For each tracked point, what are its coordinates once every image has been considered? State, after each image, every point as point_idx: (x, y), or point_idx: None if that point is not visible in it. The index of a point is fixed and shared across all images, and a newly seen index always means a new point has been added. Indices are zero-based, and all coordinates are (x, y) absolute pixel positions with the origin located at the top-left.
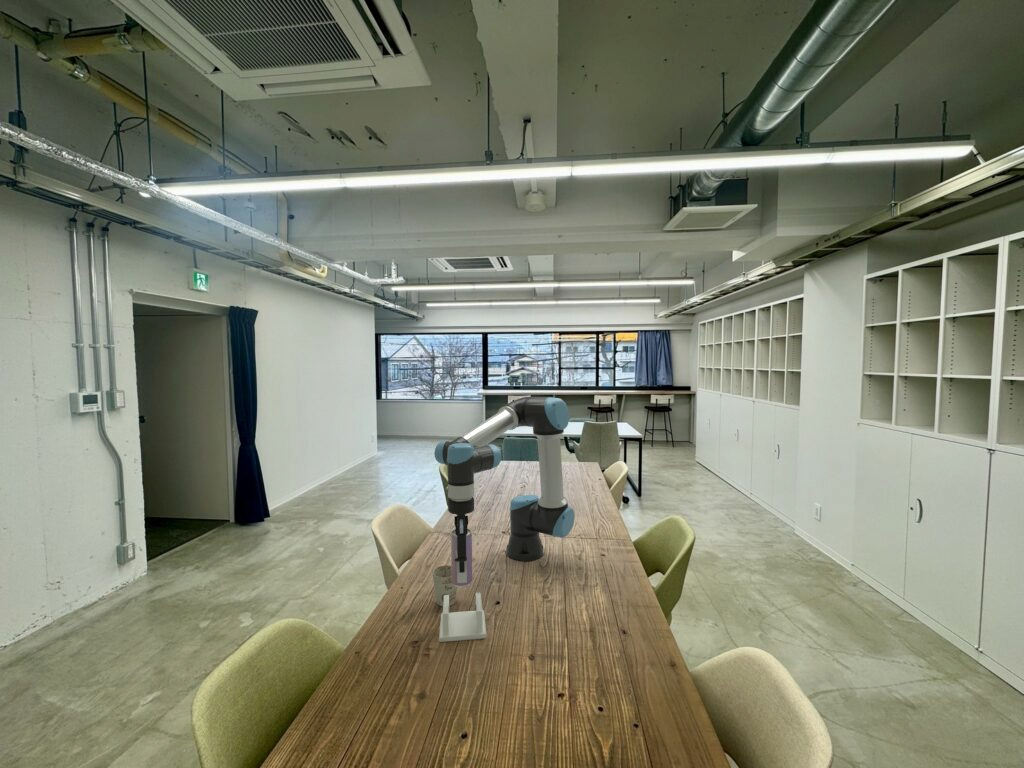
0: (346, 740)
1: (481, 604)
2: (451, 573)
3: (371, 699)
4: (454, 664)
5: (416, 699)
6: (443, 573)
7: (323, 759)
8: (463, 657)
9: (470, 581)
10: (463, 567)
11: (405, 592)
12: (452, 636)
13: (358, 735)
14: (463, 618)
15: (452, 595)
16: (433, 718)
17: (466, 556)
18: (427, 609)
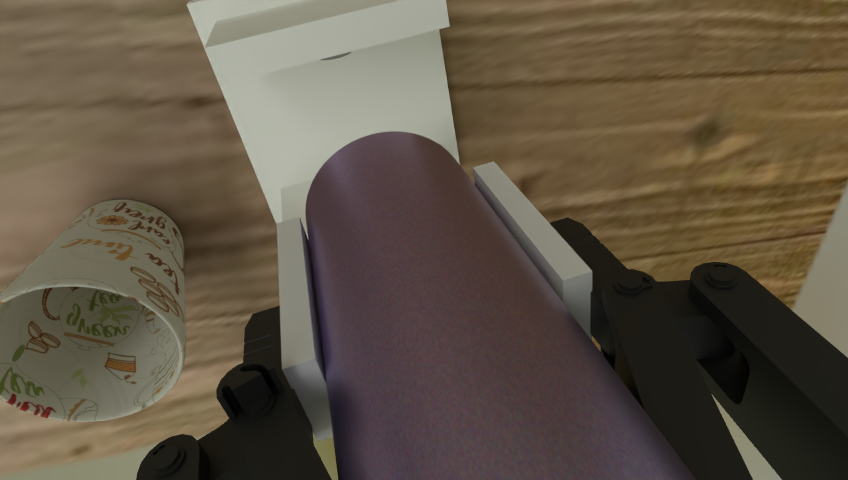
0: (784, 247)
1: (365, 10)
2: (6, 317)
3: (685, 256)
4: (587, 66)
5: (716, 144)
6: (31, 358)
7: (812, 263)
8: (552, 38)
9: (427, 140)
10: (601, 250)
11: (117, 422)
12: (451, 122)
13: (781, 231)
14: (303, 109)
15: (147, 227)
16: (797, 69)
17: (558, 297)
18: (228, 293)
